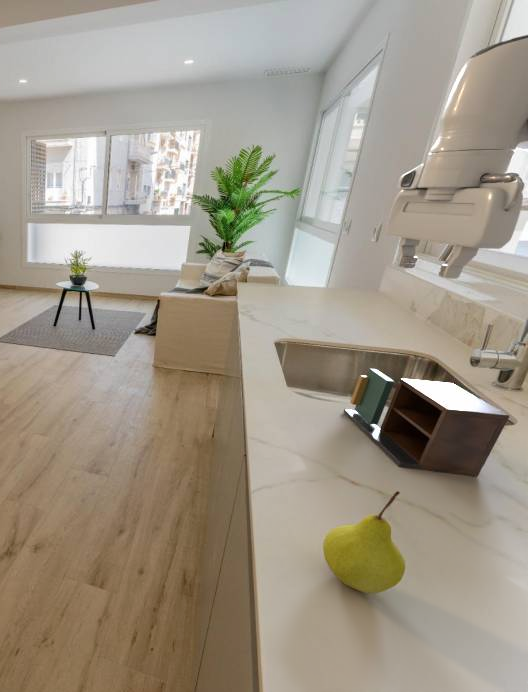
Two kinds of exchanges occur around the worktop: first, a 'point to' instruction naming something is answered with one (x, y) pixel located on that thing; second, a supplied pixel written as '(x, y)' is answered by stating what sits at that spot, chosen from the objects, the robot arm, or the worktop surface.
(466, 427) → the cabinet
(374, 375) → the sliding door
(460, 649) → the worktop surface
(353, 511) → the worktop surface
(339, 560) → the fruit
